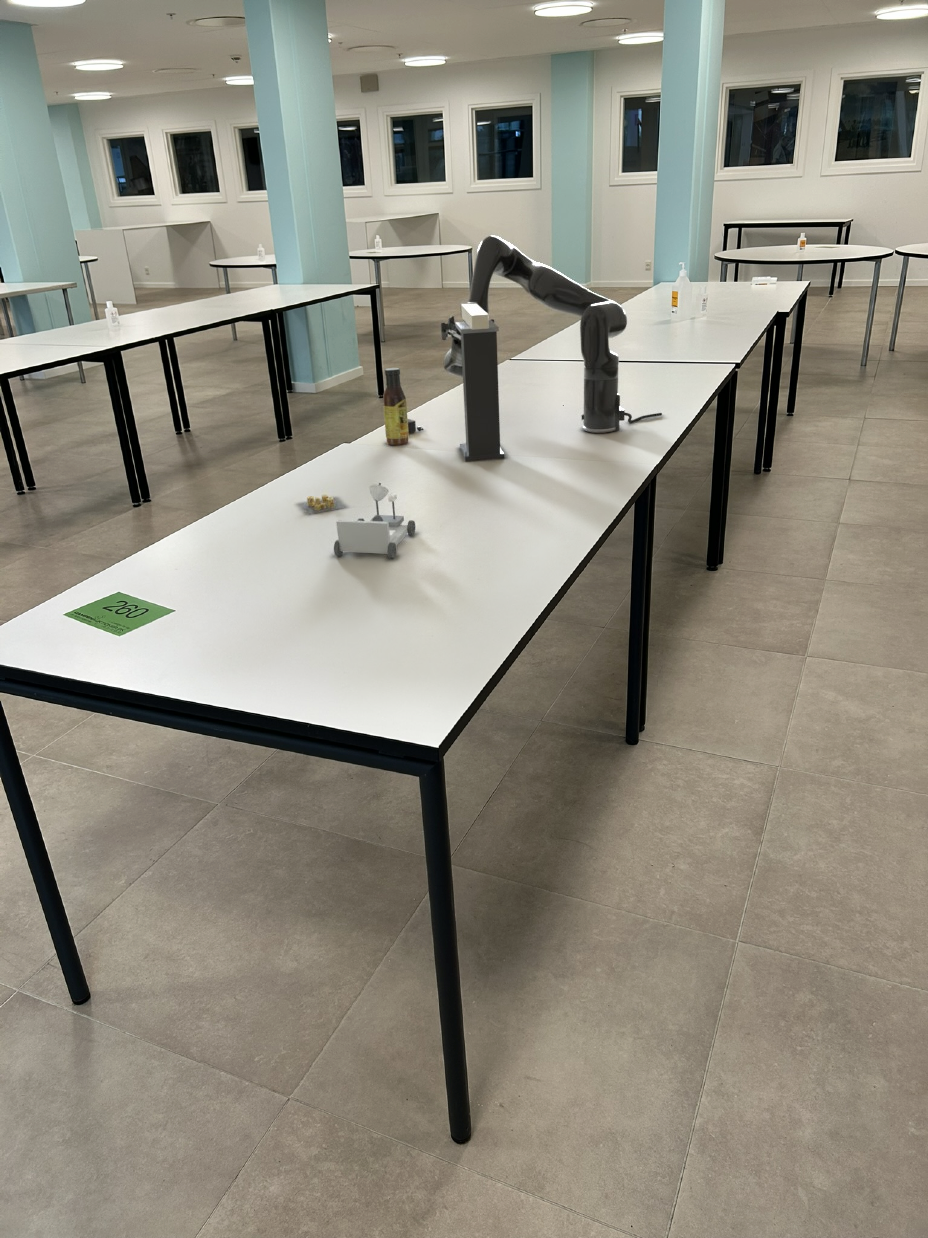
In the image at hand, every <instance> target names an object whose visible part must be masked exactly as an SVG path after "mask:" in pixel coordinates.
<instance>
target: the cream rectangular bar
mask: <svg viewBox="0 0 928 1238" xmlns="http://www.w3.org/2000/svg"><path fill="white" fill-rule="evenodd" d="M459 305H460V306H459V307H460V317H461V319H462V320H463V319H464V320H465V322H466V323H467V324H468V325H469V326H470V327H471V329H472V330H474V329H489V320H490V316H488V314H487V313H486V312H485V311H484V310H483V309H482V308H481V307H480V306H479V305H478V304H477V302H469V303H468V302H460V303H459Z"/></svg>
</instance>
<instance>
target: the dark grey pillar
mask: <svg viewBox="0 0 928 1238" xmlns="http://www.w3.org/2000/svg"><path fill="white" fill-rule="evenodd" d="M455 322H456V327H457V329H458V330H459V331H460V333H461V349H462V369H463V378H462V387H463V389H462V390H463V407H464V408H463V409H464V427H465V428H464V431H465V443H459V449H460V451H461V455H462V456H463V459H464V461H465V462H475V461H476V462H478V461H489V460H503V459H505V458H506V457H505V453H504V451H503V449H502V447H501V426H500V423H501V421H500V392H499V371H498V370H499V364H498V363H499V361H498V360H499V359H498V336H497V335H498V333H497V332H499V331H500V329H499V326H498V325H497V324H496V323H495V321H494V322H493V321H491V319H489V329H474V330H472V329H471V327H470V326H469V325H468V324H467V323H466V322H463V321H455Z"/></svg>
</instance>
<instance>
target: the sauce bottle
mask: <svg viewBox="0 0 928 1238" xmlns="http://www.w3.org/2000/svg"><path fill="white" fill-rule="evenodd" d="M384 375H385V385H386V387H385V390H384V391H383V394H382V400H383V401H382V402H383V419H384V428H385V429H384V431H385V438H386V444H388V445H390V446H400V445H405V444H407V443H409V436H410V435H409V434H410V433H408V419H409V418H408V407H407V405H408V404H407V397H406V395H405V392H404V390H403V388H402V385H401V376H400V375H401V368H399V367H388V368H385V369H384Z"/></svg>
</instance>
